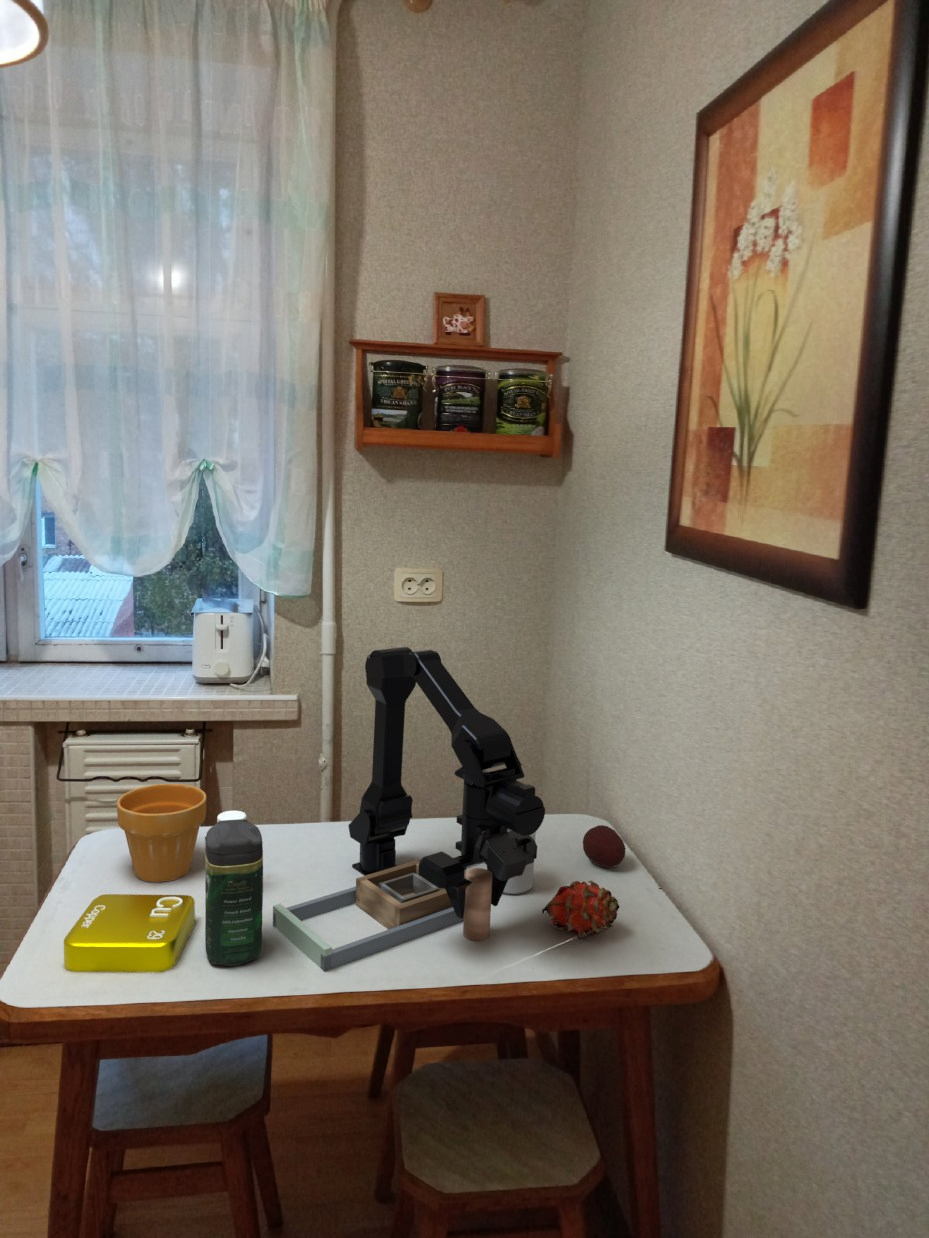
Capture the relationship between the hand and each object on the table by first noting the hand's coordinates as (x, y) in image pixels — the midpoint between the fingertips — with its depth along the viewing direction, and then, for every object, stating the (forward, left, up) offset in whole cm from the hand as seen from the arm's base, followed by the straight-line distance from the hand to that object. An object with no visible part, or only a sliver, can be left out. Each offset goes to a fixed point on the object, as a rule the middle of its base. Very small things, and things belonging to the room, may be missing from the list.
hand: (477, 911), depth 133 cm
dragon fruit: (+8, +14, -4) cm, 17 cm away
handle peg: (0, 0, -4) cm, 4 cm away
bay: (-12, -10, -4) cm, 16 cm away
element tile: (-27, -42, -5) cm, 50 cm away
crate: (-12, -4, -4) cm, 13 cm away
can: (-9, +15, -4) cm, 18 cm away
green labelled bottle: (-17, -31, -4) cm, 36 cm away
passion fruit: (-6, +35, -4) cm, 36 cm away
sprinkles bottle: (-33, -24, -4) cm, 41 cm away
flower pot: (-47, -30, -4) cm, 56 cm away
